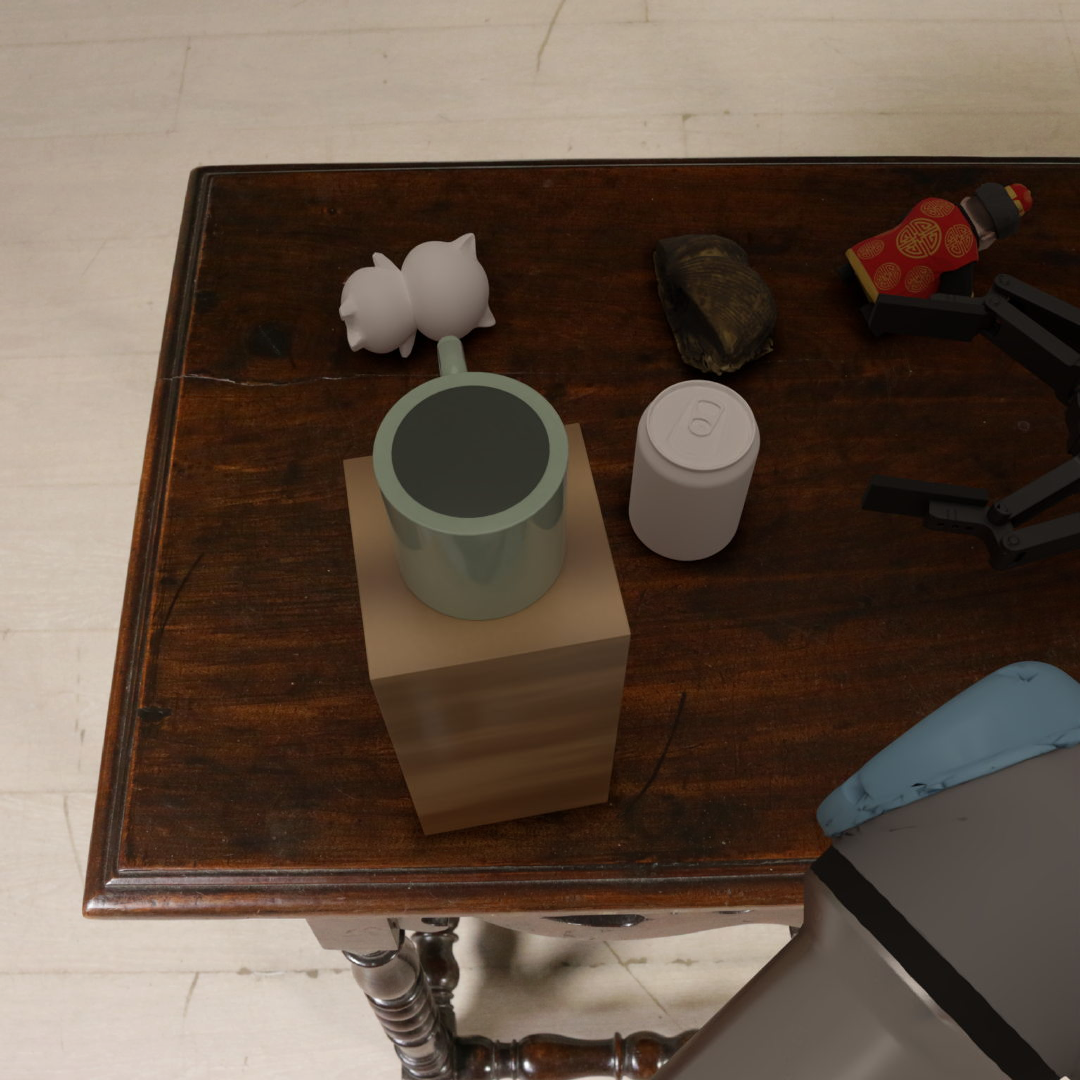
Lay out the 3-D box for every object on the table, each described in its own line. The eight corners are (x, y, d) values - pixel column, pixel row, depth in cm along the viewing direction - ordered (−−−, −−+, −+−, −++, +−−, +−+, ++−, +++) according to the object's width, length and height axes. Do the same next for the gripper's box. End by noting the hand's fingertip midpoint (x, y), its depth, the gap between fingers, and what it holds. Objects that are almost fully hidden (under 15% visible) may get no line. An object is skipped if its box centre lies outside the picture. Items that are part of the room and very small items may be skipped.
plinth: (607, 802, 76) (631, 634, 53) (424, 836, 75) (369, 679, 52) (571, 636, 82) (579, 422, 59) (401, 666, 81) (342, 459, 58)
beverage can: (611, 542, 85) (620, 451, 75) (651, 457, 89) (664, 358, 78) (716, 580, 84) (740, 493, 73) (752, 492, 87) (779, 396, 77)
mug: (582, 604, 54) (586, 516, 47) (406, 634, 53) (384, 549, 46) (536, 404, 60) (534, 298, 52) (377, 429, 59) (353, 325, 52)
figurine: (894, 372, 98) (1066, 275, 93) (873, 331, 89) (1061, 221, 85) (842, 284, 101) (1006, 186, 97) (817, 236, 93) (994, 127, 88)
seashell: (623, 253, 99) (647, 188, 93) (719, 251, 101) (748, 188, 96) (681, 404, 90) (710, 343, 85) (783, 398, 93) (819, 339, 87)
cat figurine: (329, 280, 85) (484, 234, 87) (316, 248, 95) (456, 208, 96) (363, 388, 90) (511, 343, 91) (348, 348, 99) (482, 308, 100)
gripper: (1240, 242, 72) (889, 203, 74) (1299, 602, 60) (880, 545, 62) (1182, 321, 78) (862, 284, 80) (1226, 660, 66) (848, 607, 68)
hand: (869, 397), depth 71 cm, fingers open, 13 cm apart
